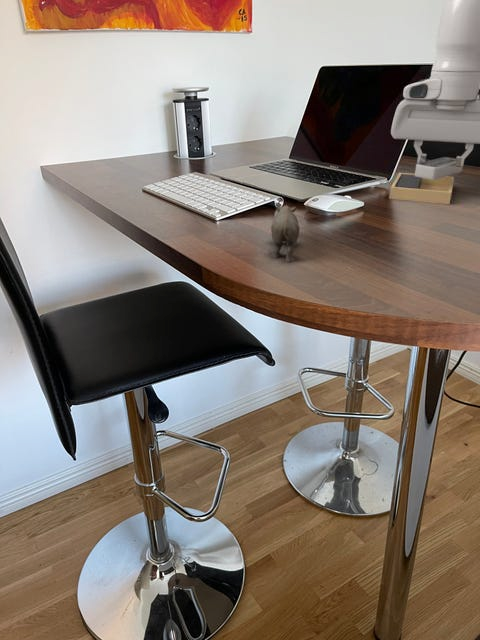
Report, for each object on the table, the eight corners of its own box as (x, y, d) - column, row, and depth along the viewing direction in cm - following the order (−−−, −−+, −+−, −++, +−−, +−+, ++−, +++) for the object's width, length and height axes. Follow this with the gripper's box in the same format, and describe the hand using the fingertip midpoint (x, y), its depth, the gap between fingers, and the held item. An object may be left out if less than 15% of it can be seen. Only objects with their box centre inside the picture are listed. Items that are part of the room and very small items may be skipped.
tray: (397, 184, 110) (399, 172, 109) (451, 188, 106) (454, 176, 105) (388, 199, 99) (390, 187, 97) (449, 205, 95) (451, 192, 94)
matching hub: (401, 183, 108) (402, 174, 107) (420, 185, 107) (422, 175, 106) (394, 196, 99) (396, 186, 98) (415, 198, 98) (417, 187, 97)
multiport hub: (413, 176, 98) (415, 163, 97) (442, 168, 104) (444, 156, 103) (433, 180, 95) (436, 167, 94) (462, 171, 101) (464, 159, 100)
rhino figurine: (297, 232, 82) (299, 195, 79) (298, 264, 70) (301, 222, 67) (272, 231, 82) (273, 195, 79) (269, 263, 70) (270, 222, 67)
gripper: (515, 88, 91) (496, 166, 98) (399, 85, 98) (389, 158, 105) (517, 91, 86) (497, 172, 93) (395, 88, 93) (385, 164, 100)
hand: (439, 165), depth 99 cm, fingers closed on multiport hub, 6 cm apart
